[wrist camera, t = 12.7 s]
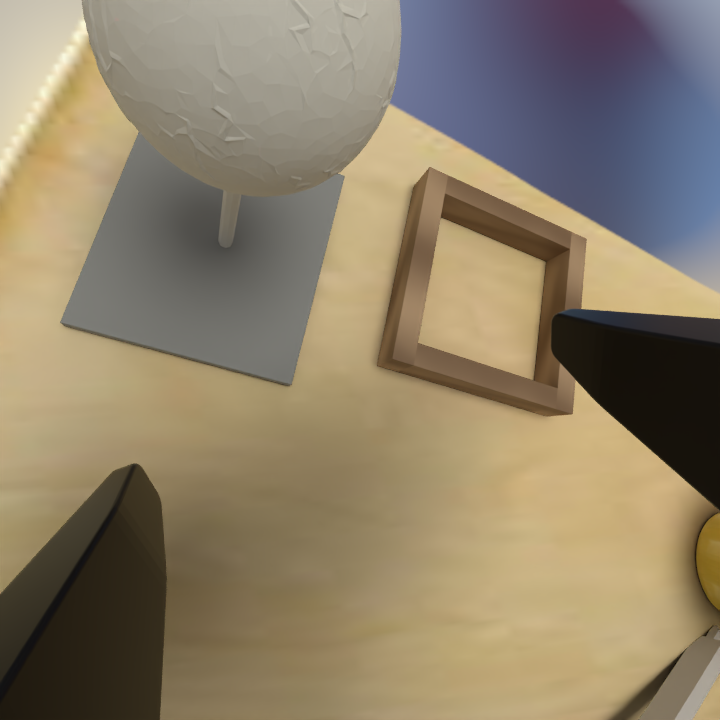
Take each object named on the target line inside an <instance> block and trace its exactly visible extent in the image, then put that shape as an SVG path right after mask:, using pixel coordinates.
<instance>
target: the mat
mask: <svg viewBox="0 0 720 720" xmlns="http://www.w3.org/2000/svg"><path fill="white" fill-rule="evenodd" d="M343 180H344V176H343V175H340V174H338V173H337V174H335V175H334V176H332V177H331V178H329V179H328V180H326V181H324V182H323V183H321V184H319V185H317V186H315V187H313V188H310V189H308V190H304V191H301V192H297V193H294V194H289V195H283V196H271V197H256V196H247V195H241V200H240V205H239V211H238V216H237V222H236V228H235V233H234V239H233V243H232V245H231V247H228V248H224V247H222V246H220V244H219V241H218V237H219V228H220V219H221V209H222V200H223V191H224V190H222V189H219V188H216V187H213V186H211V185H207V184H205V183H204V182H202V181H200V180H198V179H196V178H195V177H193V176H191V175H189V174H188V173H186V172H184V171H183V170H181V169H180V168H178V167H177V166H176V165H174V164H173V163H171V162H170V161H169V160H168V159H166V158H165V157H164V156H163V155H162V154H161V153H159V152H158V151H157V150H156V149H155V148H154V147H153V146H152V145H151V144H150V143H149V142H148V141H147V140H146V139H145V138H144V137H143V135H142V134H141V133H140V132H139V133H138V135H137V138H136V140H135V143H134V145H133V148H132V150H131V152H130V155H129V157H128V160H127V162H126V164H125V167H124V169H123V172H122V174H121V177H120V179H119V181H118V184H117V186H116V189H115V191H114V193H113V196H112V198H111V201H110V203H109V206H108V208H107V210H106V213H105V215H104V218H103V220H102V222H101V225H100V227H99V230H98V232H97V235H96V237H95V239H94V242H93V244H92V247H91V249H90V251H89V254H88V256H87V259H86V261H85V264H84V266H83V268H82V271H81V273H80V276H79V278H78V281H77V283H76V285H75V288H74V290H73V293H72V295H71V297H70V300H69V302H68V305H67V307H66V310H65V312H64V314H63V317H62V319H61V322H60V323H62V324H63V325H64V326H67V327H70V328H74V329H78V330H82V331H85V332H89V333H93V334H97V335H100V336H104V337H108V338H111V339H115V340H119V341H123V342H126V343H130V344H134V345H138V346H141V347H145V348H149V349H153V350H156V351H160V352H164V353H168V354H171V355H175V356H179V357H182V358H186V359H190V360H194V361H197V362H201V363H205V364H209V365H212V366H216V367H220V368H224V369H227V370H231V371H235V372H239V373H242V374H246V375H250V376H253V377H257V378H261V379H265V380H268V381H272V382H276V383H280V384H283V385H287V386H290V385H291V384H292V381H293V377H294V373H295V369H296V365H297V361H298V357H299V353H300V349H301V345H302V341H303V337H304V333H305V330H306V326H307V322H308V318H309V314H310V310H311V306H312V302H313V298H314V294H315V290H316V286H317V282H318V279H319V275H320V271H321V267H322V263H323V259H324V255H325V251H326V247H327V243H328V239H329V235H330V231H331V227H332V224H333V220H334V216H335V212H336V208H337V204H338V200H339V196H340V192H341V188H342V184H343Z"/></svg>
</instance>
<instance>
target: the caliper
mask: <svg viewBox="0 0 720 720" xmlns="http://www.w3.org/2000/svg"><path fill="white" fill-rule="evenodd" d="M719 673H720V630H719V629H718V626H716V625H715V626H713V627H712V628H711V629H710V630H709V632H708V634H707V635H706V636H701V637H699V638H698V639H697V640H696V641H695V642H694V643H692V644H691V645H690V646H689V647H688V648H687V649H686V650H685V652H684V653H683V655H682V656H681V658H680V659H679V661H678V662H677V664H676V665H675V667H674V668H673V670H672V671H671V672H670V674H669V675H668V677H667V678H666V680H665V681H664V683H663V684H662V686H661V687H660V689H659V690H658V692H657V693H656V695H655V696H654V698H653V699H652V701H651V702H650V704H649V705H648V707H647V708H646V709H645V711H644V712H643V714H642V715H641V717H640V718H639V720H693V718H694V716H695V714H696V713H697V711H698V709H699V708H700V706H701V704H702V703H703V701H704V699H705V697H706V696H707V694H708V692H709V691H710V689H711V687H712V685H713V684H714V682H715V680H716V678H717V677H718V675H719Z"/></svg>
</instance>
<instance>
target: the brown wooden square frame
mask: <svg viewBox="0 0 720 720" xmlns="http://www.w3.org/2000/svg"><path fill="white" fill-rule="evenodd" d="M441 217H443V218H446V219H448V220H450V221H453V222H455V223H457V224H460V225H462V226H464V227H467V228H469V229H471V230H474V231H476V232H478V233H481V234H483V235H485V236H488V237H490V238H493V239H495V240H497V241H500V242H502V243H504V244H507V245H509V246H511V247H514V248H516V249H518V250H521V251H523V252H525V253H528V254H530V255H533V256H535V257H537V258H540V259H542V260H544V261H547V262H546V272H545V281H544V291H543V300H542V310H541V319H540V329H539V338H538V348H537V357H536V367H535V376H534V381H533V380H530V379H527V378H524V377H521V376H518V375H515V374H512V373H509V372H505V371H502V370H499V369H496V368H493V367H490V366H487V365H484V364H481V363H478V362H475V361H472V360H469V359H465V358H462V357H459V356H456V355H453V354H450V353H447V352H444V351H441V350H438V349H435V348H432V347H428V346H425V345H422V344H419V343H418V339H419V334H420V328H421V323H422V317H423V312H424V306H425V301H426V295H427V290H428V284H429V279H430V273H431V268H432V262H433V257H434V251H435V246H436V240H437V235H438V229H439V224H440V218H441ZM586 240H587V239H586V238H583V237H581V236H579V235H577V234H575V233H573V232H570V231H568V230H566V229H564V228H562V227H559V226H557V225H555V224H553V223H551V222H549V221H546V220H544V219H542V218H540V217H538V216H535V215H533V214H531V213H529V212H527V211H525V210H522V209H520V208H518V207H516V206H514V205H512V204H509V203H507V202H505V201H503V200H501V199H498V198H496V197H494V196H492V195H490V194H488V193H485V192H483V191H481V190H479V189H477V188H474V187H472V186H470V185H468V184H466V183H464V182H461V181H459V180H457V179H455V178H453V177H450V176H448V175H446V174H444V173H442V172H440V171H437V170H435V169H433V168H431V167H429V169H428V170H427V171H426V172H425V173H424V175H423V176H422V177H421V178H420V180H419V181H418V182H417V183H416V184H415V186H414V187H413V192H412V197H411V202H410V207H409V212H408V217H407V222H406V227H405V232H404V236H403V241H402V246H401V251H400V256H399V261H398V266H397V271H396V276H395V280H394V285H393V290H392V295H391V300H390V305H389V310H388V315H387V320H386V325H385V329H384V334H383V339H382V344H381V349H380V354H379V359H378V364H377V366H380V367H384V368H387V369H390V370H394V371H397V372H400V373H404V374H407V375H410V376H414V377H417V378H420V379H424V380H427V381H430V382H434V383H437V384H440V385H444V386H447V387H450V388H454V389H457V390H460V391H464V392H467V393H470V394H474V395H477V396H481V397H484V398H487V399H491V400H494V401H497V402H501V403H504V404H507V405H511V406H514V407H517V408H521V409H524V410H527V411H531V412H534V413H537V414H541V415H544V416H557V415H569V414H573V403H574V390H575V379H574V378H573V376H572V375H571V374H570V373H569V372H568V371H567V370H566V369H565V368H564V367H563V366H562V365H561V364H560V362H559V361H558V360H557V359H556V358H555V357H554V355H553V353H552V351H551V320H552V317H553V316H554V315H555V314H556V313H559V312H562V311H565V310H567V309H581V302H582V290H583V277H584V265H585V252H586Z"/></svg>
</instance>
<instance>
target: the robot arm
mask: <svg viewBox="0 0 720 720" xmlns="http://www.w3.org/2000/svg"><path fill="white" fill-rule="evenodd" d="M551 351H552V353H553V355H554V357H555V358H556V359H557V360H558V361H559V362H560V364H561V365H562V366H563V367H564V368H565V369H566V370H567V371H568V372H569V373H570V374H571V375H572V376H573V378H574V379H575V380H576V381H577V382H578V383H579V384H580V385H581V386H582V387H583V388H584V389H585V390H586V391H587V393H588V394H589V395H590V396H591V397H592V398H593V399H594V400H595V401H596V402H597V403H598V404H599V405H600V406H601V407H602V408H603V409H605V410H606V411H607V412H608V413H609V414H610V415H611V416H612V417H614V418H615V419H616V420H617V421H618V422H619V423H620V424H622V425H623V426H624V427H625V428H626V429H627V430H628V431H630V432H631V433H632V434H633V435H634V436H635V437H636V438H638V439H639V440H640V441H641V442H642V443H643V444H644V445H646V446H647V447H648V448H649V449H650V450H651V451H652V452H653V453H655V454H656V455H657V456H658V457H659V458H660V459H661V460H663V461H664V462H665V463H666V464H667V465H668V466H669V467H671V468H672V469H673V470H674V471H675V472H676V473H677V474H679V475H680V476H681V477H682V478H683V479H684V480H685V481H687V482H688V483H689V484H690V485H691V486H692V487H693V488H694V489H696V490H697V491H698V492H699V493H700V494H701V495H702V496H704V497H705V498H706V499H707V500H708V501H709V502H710V503H712V504H713V505H714V506H715V507H716V508H717V509H718V510H720V319H711V318H697V317H683V316H669V315H655V314H641V313H627V312H613V311H600V310H586V309H567V310H565V311H562V312H559V313H556V314H555V315H554V316H553V317H552V320H551ZM166 582H167V576H166V559H165V546H164V532H163V519H162V506H161V500H160V497H159V495H158V493H157V491H156V489H155V488H154V486H153V484H152V483H151V481H150V480H149V478H148V476H147V475H146V473H145V471H144V470H143V468H142V467H141V466H140V465H138V464H131V465H128V466H125V467H122V468H120V469H117V470H115V471H113V472H112V473H111V474H110V475H109V476H108V477H107V478H106V480H105V481H104V482H103V483H102V484H101V485H100V486H99V487H98V488H97V489H96V490H95V492H94V493H93V494H92V495H91V496H90V497H89V498H88V499H87V500H86V501H85V502H84V504H83V505H82V506H81V507H80V508H79V509H78V510H77V511H76V512H75V513H74V514H73V516H72V517H71V518H70V519H69V520H68V521H67V522H66V523H65V524H64V525H63V526H62V527H61V529H60V530H59V531H58V532H57V533H56V534H55V535H54V536H53V537H52V538H51V539H50V541H49V542H48V543H47V544H46V545H45V546H44V547H43V548H42V549H41V550H40V551H39V553H38V554H37V555H36V556H35V557H34V558H33V559H32V560H31V561H30V562H29V563H28V564H27V566H26V567H25V568H24V569H23V570H22V571H21V572H20V573H19V574H18V575H17V576H16V578H15V579H14V580H13V581H12V582H11V583H10V584H9V585H8V586H7V587H6V588H5V590H4V591H3V592H2V593H1V594H0V720H160V707H161V687H162V667H163V647H164V627H165V607H166Z"/></svg>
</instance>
